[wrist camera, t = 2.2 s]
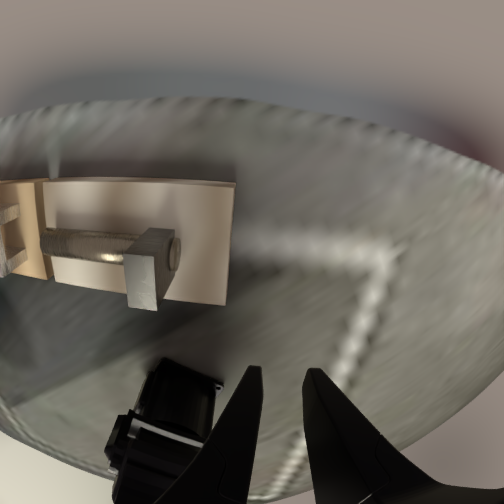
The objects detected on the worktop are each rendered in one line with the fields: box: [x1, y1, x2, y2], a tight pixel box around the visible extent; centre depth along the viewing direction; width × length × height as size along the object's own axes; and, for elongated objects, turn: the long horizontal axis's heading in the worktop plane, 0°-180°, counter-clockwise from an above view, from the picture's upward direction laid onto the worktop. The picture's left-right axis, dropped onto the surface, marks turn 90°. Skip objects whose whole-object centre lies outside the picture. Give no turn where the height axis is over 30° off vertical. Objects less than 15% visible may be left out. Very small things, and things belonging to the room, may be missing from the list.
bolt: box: [40, 227, 181, 311], centre depth 15 cm, size 10×3×5 cm, turn 84°
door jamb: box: [0, 177, 236, 306], centre depth 18 cm, size 24×8×2 cm, turn 84°
